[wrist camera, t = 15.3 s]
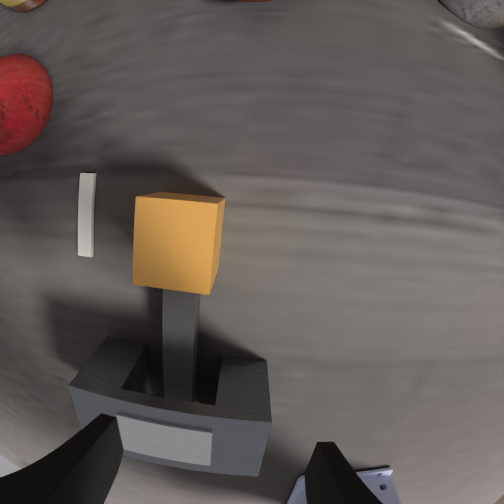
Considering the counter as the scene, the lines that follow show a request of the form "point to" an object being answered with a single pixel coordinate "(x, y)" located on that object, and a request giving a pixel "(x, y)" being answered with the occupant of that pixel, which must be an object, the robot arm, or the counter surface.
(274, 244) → the counter surface
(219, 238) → the orange and grey bar
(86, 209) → the white slender bar
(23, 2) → the sauce bottle
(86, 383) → the housing
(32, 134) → the red rounded lump
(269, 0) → the fruit slice
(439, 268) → the counter surface
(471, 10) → the pillar candle
